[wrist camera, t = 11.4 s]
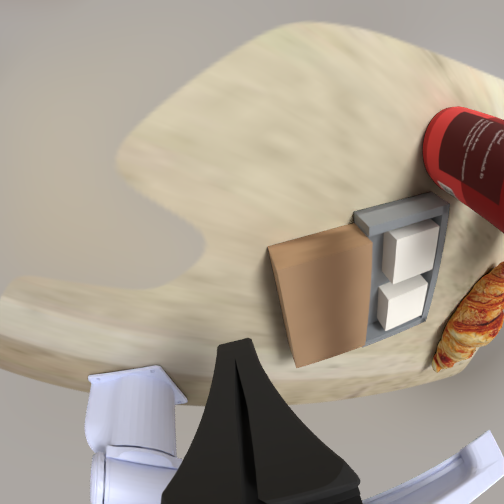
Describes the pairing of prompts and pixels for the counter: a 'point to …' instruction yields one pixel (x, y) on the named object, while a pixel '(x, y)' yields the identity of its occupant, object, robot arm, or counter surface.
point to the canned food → (468, 159)
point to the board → (324, 291)
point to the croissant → (473, 321)
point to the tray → (374, 227)
